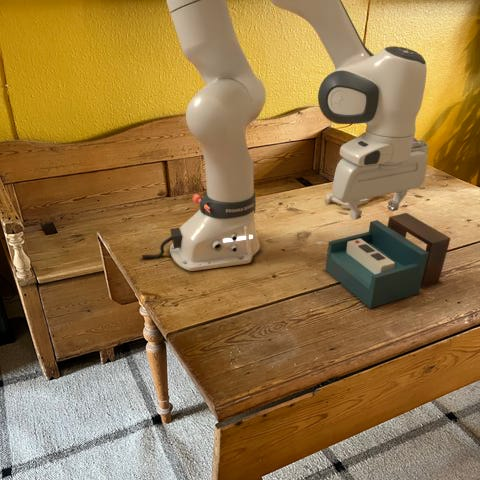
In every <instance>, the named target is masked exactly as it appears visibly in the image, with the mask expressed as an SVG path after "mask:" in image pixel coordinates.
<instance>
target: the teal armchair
mask: <svg viewBox="0 0 480 480" xmlns="http://www.w3.org/2000/svg"><path fill="white" fill-rule="evenodd" d="M387 226H388V225H386V224H384V223H383V222H381V221H380V220H378V219H376V220H372V221H370V222H369V227H368V231H365V232H361V233H358V234H353V235H350V236H346V237H343V238H338V239H334V240H330V241H328V245H327V253H326V262H325V272H327V273H328V274H329V275H331V276H332V277H333V278H334V279H335V280H336V281H338V282H339V283H340V284H341V285H342V286H344V288H346V289H347V290H348V291H349V292H351V294H353V295H354V296H355V297H356V298H357V299H359V300H360V301H361V302H363V304H365V305H366V306H367V307H368V308H370V309H373V308H376V307H378V306H382V305H386V304H388V303H392V302H394V301H398V300H401V299H404V298H408V297H411V296H414V295H417V294H419V293H420V290H421V288H422V287H421V283H422V279H423V275H424V271H425V267H426V263H427V259H428V255H429V252H427V251H425V250H426V249H424V248H422V247H421V246H419V245H418V244H416V243H414V242H413V241H411V240H410V239H408V238H407V237H406V238H405V237H403V236H402V235H400V234H398V233H397V232H395V231H394V230H392V229H391V228H389V227H387ZM356 239H362V240H363V241H365V242H366V243H368V244H369V245H370V246H372V247H373V248H375V249H376V250H377V251H379V252H380V253H382V254H383V255H385V256H386V257H387V258H389V259H390V260H392V261H393V262H395V266H394V269H392V270H388V271H385V272H382V273H378V274H374V273H372V272H371V271H370V270H368V269H367V268H366V267H364V266H363V265H362V264H360V263H359V262H358V261H357V260H355V259H354V258H353V257H351V256H350V255H349V254H347V253H346V250H347V242H348V241H352V240H356Z"/></svg>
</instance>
